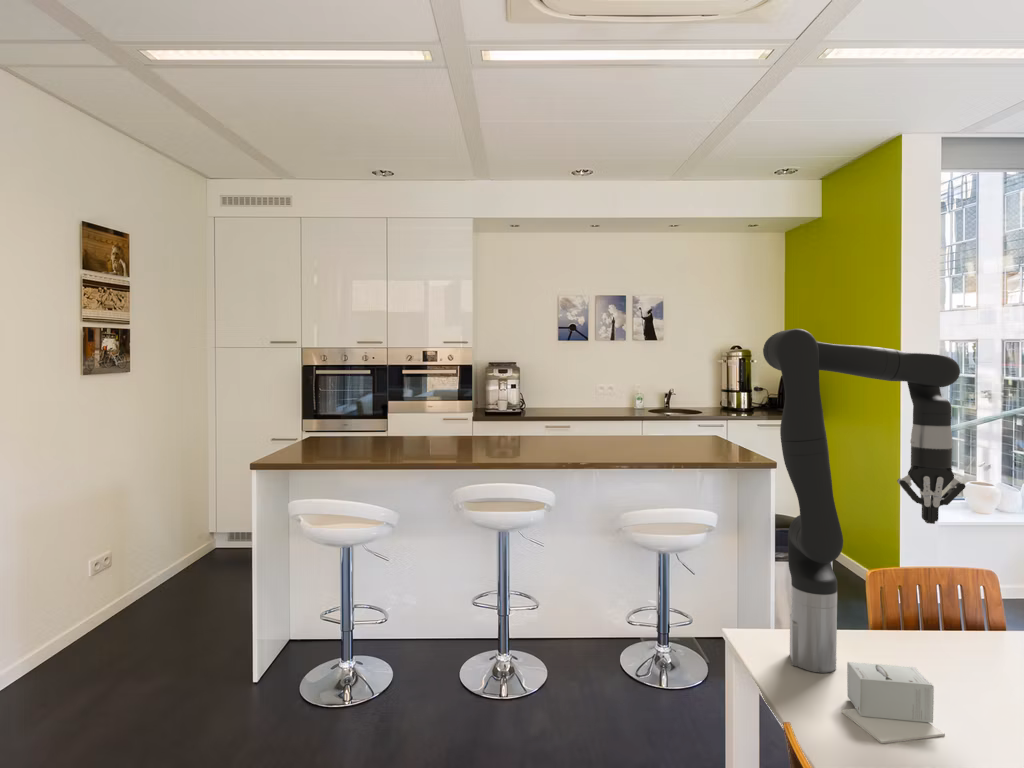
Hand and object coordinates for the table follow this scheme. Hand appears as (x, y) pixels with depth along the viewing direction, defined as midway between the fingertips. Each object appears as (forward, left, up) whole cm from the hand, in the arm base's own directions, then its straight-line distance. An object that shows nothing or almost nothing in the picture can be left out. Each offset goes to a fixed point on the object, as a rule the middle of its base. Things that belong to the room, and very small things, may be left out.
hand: (929, 522), depth 136 cm
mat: (-13, -29, -32) cm, 45 cm away
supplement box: (-6, -23, -28) cm, 37 cm away
